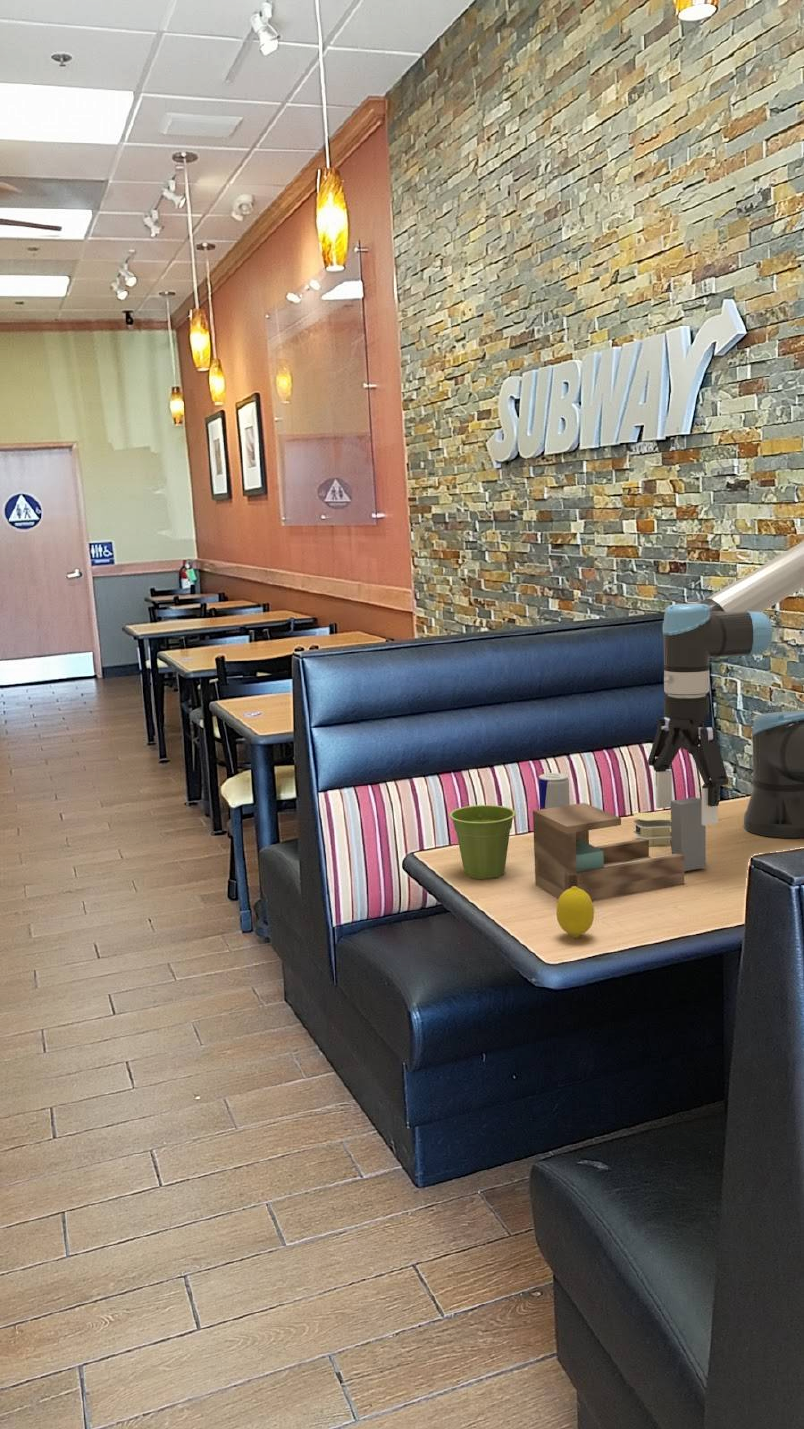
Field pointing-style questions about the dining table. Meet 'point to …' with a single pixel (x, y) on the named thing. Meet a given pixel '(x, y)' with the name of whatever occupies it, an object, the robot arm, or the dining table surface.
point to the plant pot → (483, 838)
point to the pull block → (684, 838)
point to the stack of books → (653, 828)
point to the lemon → (575, 911)
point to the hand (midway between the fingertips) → (686, 815)
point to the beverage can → (553, 790)
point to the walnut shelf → (559, 858)
